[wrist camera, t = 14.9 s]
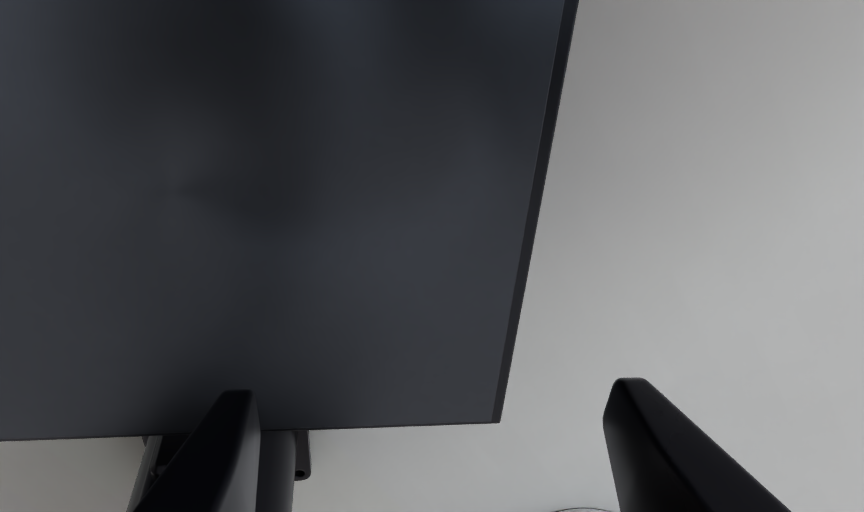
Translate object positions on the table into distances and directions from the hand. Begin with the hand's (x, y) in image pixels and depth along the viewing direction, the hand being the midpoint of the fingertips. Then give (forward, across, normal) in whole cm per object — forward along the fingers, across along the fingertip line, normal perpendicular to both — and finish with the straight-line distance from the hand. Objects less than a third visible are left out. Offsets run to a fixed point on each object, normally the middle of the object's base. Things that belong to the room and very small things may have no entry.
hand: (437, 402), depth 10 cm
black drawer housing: (+12, +4, -1) cm, 13 cm away
